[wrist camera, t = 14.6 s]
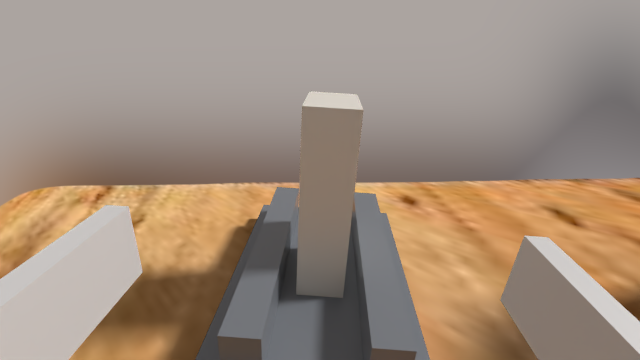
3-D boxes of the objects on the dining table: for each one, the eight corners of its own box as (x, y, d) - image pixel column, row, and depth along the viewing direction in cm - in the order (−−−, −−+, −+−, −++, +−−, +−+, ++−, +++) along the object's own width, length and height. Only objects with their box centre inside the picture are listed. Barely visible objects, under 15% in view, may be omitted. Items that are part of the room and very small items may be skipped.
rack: (384, 226, 31) (390, 190, 30) (438, 432, 15) (458, 375, 13) (263, 218, 31) (263, 181, 30) (185, 411, 15) (174, 353, 13)
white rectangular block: (341, 250, 25) (357, 94, 20) (342, 298, 20) (363, 109, 15) (303, 247, 25) (309, 91, 20) (296, 294, 20) (302, 106, 15)
